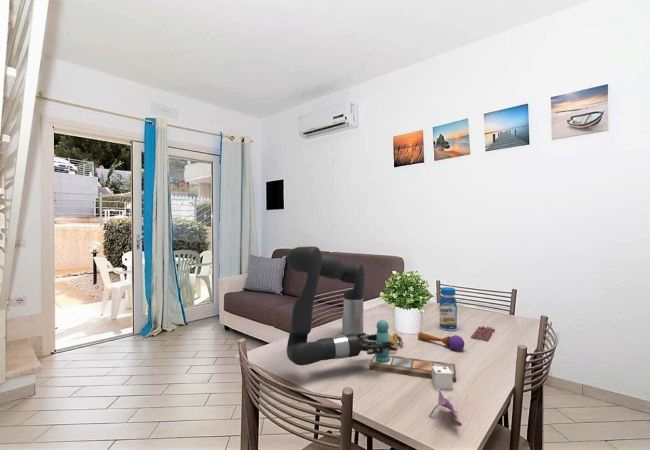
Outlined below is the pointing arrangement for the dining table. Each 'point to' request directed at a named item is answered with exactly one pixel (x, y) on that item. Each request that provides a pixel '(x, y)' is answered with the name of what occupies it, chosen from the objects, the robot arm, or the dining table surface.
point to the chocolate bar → (483, 333)
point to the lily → (444, 402)
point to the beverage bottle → (448, 309)
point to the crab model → (394, 340)
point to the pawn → (382, 337)
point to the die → (442, 377)
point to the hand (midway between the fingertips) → (384, 340)
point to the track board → (410, 366)
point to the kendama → (445, 340)
